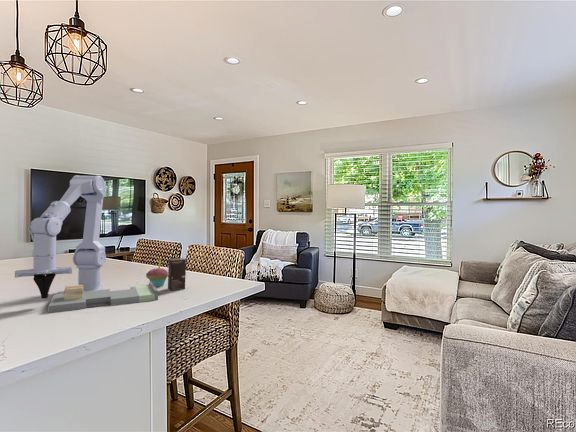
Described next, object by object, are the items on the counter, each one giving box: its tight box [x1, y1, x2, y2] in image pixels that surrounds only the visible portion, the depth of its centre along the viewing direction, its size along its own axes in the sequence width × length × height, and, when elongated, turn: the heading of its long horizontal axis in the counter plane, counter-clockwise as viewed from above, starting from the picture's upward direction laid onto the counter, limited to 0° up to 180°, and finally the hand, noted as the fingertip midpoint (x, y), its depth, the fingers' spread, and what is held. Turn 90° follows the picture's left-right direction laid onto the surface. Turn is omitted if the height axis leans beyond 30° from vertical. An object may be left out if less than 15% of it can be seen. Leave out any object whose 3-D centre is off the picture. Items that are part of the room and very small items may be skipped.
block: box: [63, 284, 83, 300], centre depth 106 cm, size 5×5×4 cm
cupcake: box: [145, 257, 168, 288], centre depth 133 cm, size 9×8×12 cm
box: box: [167, 257, 187, 291], centre depth 128 cm, size 6×4×12 cm
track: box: [47, 281, 159, 313], centre depth 111 cm, size 15×31×3 cm, turn 121°
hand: (44, 297), depth 102 cm, fingers closed
